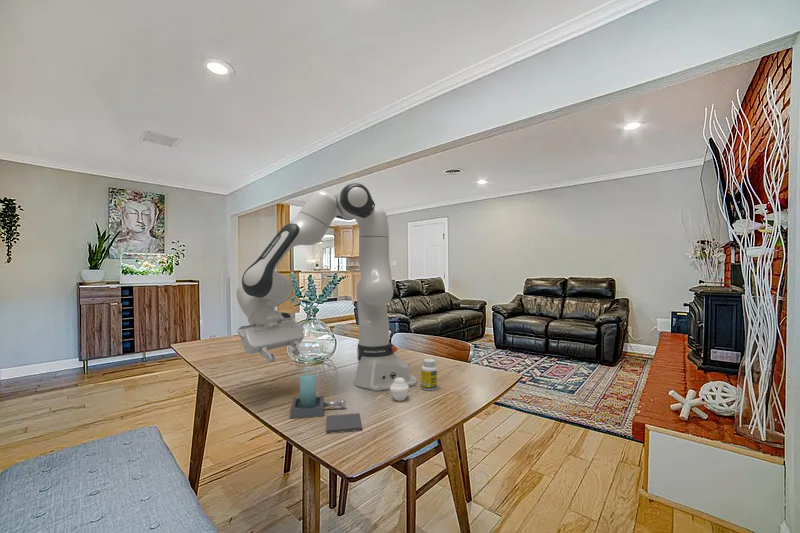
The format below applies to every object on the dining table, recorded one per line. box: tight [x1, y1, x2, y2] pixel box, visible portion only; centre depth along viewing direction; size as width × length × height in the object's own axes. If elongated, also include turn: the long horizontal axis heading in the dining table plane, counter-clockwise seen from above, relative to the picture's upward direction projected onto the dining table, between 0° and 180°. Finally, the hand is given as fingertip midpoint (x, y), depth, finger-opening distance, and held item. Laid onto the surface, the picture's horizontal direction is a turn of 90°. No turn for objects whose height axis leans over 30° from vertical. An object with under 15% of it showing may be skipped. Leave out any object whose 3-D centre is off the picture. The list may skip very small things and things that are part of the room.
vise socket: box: [289, 395, 347, 420], centre depth 104 cm, size 16×9×2 cm, turn 101°
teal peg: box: [299, 374, 317, 408], centre depth 103 cm, size 4×4×10 cm
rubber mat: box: [325, 413, 363, 434], centre depth 94 cm, size 9×9×1 cm
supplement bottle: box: [420, 358, 438, 391], centre depth 123 cm, size 5×5×10 cm
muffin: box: [389, 377, 410, 402], centre depth 113 cm, size 6×6×7 cm
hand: (285, 357), depth 109 cm, fingers open, 8 cm apart
